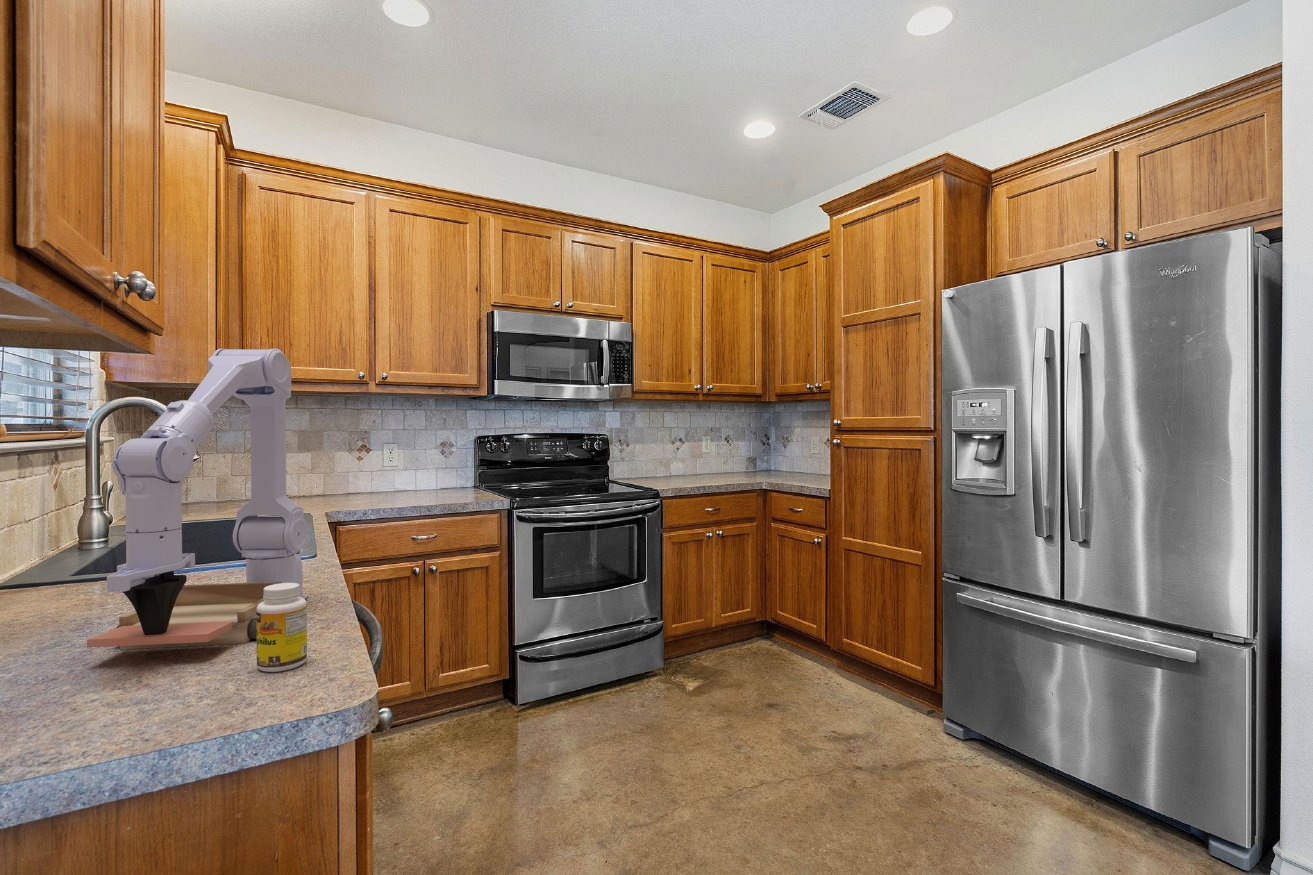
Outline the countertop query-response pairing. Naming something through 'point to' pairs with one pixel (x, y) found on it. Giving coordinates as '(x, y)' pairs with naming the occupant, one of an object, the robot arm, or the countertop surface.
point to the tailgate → (172, 635)
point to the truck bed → (212, 611)
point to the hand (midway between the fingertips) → (155, 633)
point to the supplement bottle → (281, 628)
